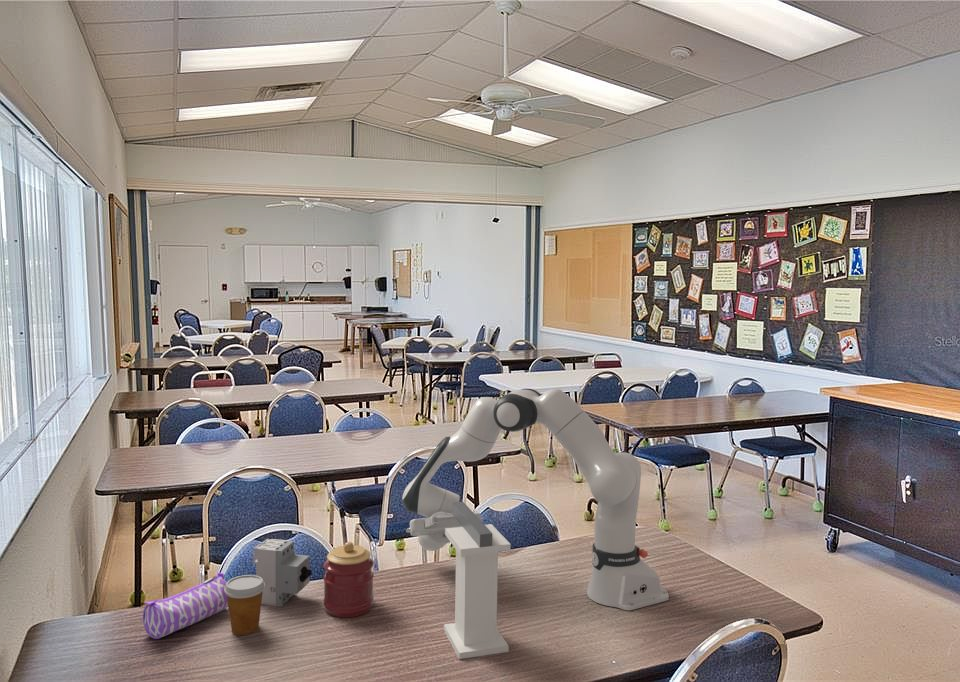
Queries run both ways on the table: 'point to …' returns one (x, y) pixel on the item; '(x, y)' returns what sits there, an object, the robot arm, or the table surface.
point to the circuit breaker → (280, 570)
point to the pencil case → (185, 607)
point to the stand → (476, 595)
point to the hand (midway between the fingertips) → (451, 518)
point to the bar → (472, 524)
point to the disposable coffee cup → (244, 603)
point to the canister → (348, 581)
